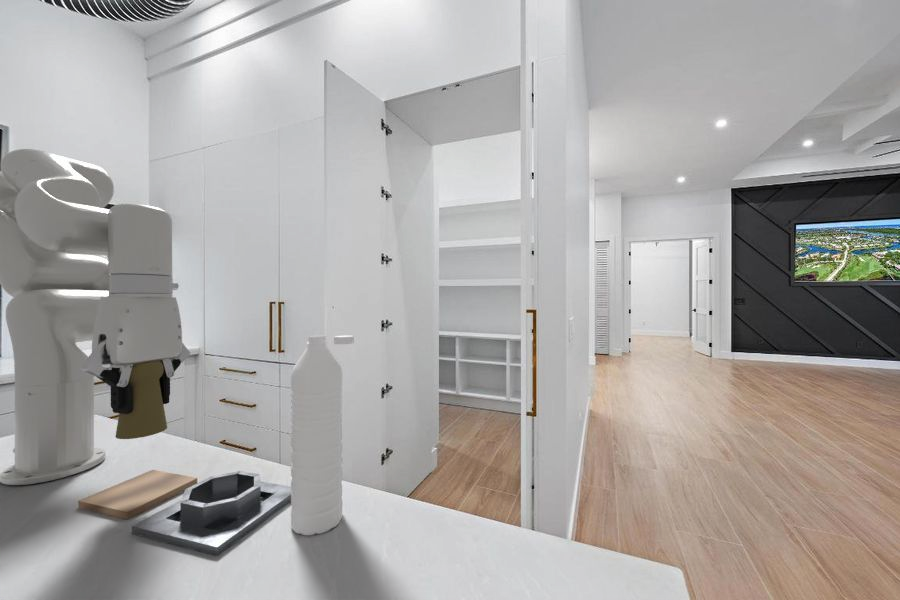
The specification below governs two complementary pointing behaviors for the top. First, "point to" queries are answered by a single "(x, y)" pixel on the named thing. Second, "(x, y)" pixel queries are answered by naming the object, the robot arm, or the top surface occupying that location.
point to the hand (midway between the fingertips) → (142, 406)
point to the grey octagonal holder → (216, 512)
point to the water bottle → (316, 438)
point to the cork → (144, 403)
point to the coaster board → (137, 494)
